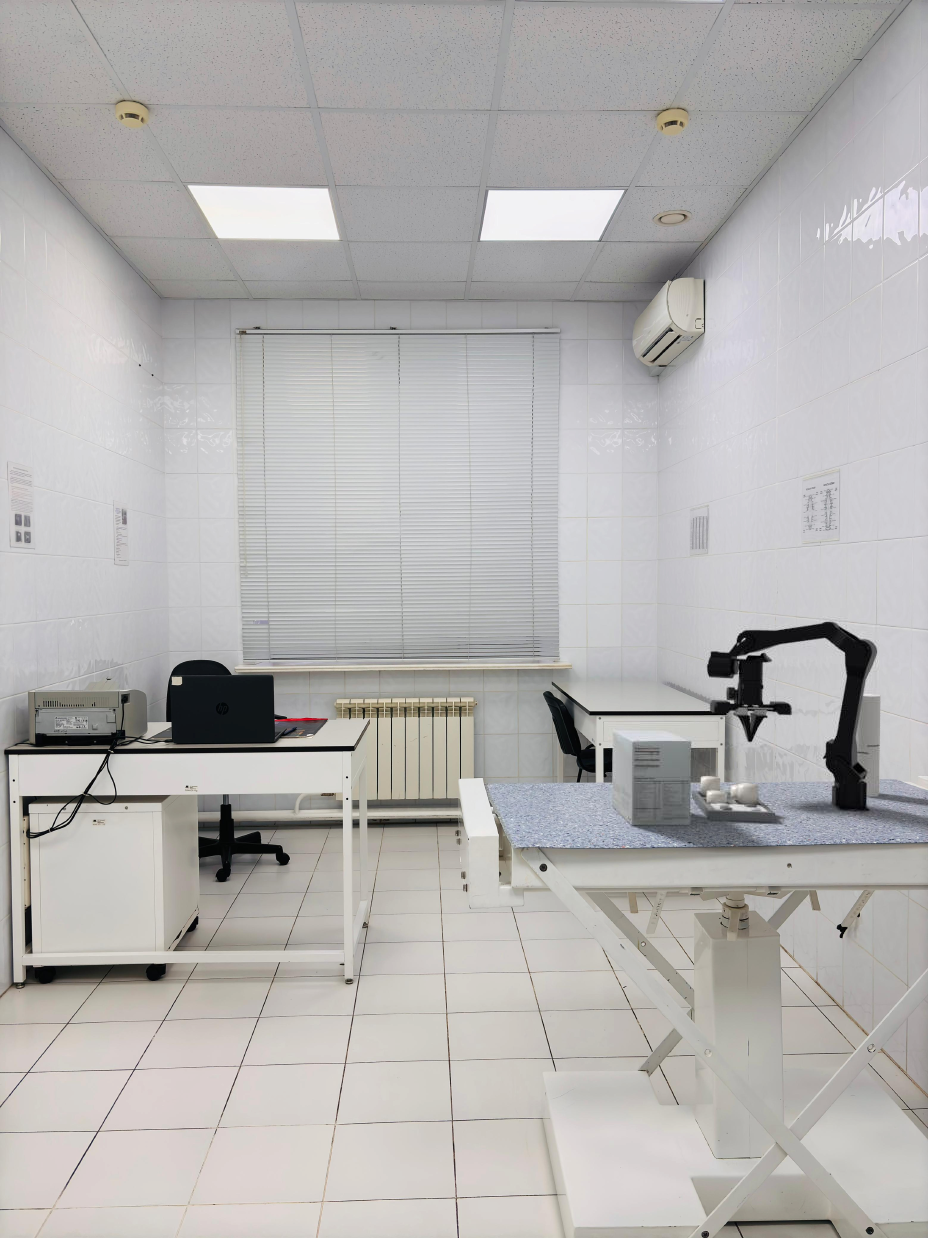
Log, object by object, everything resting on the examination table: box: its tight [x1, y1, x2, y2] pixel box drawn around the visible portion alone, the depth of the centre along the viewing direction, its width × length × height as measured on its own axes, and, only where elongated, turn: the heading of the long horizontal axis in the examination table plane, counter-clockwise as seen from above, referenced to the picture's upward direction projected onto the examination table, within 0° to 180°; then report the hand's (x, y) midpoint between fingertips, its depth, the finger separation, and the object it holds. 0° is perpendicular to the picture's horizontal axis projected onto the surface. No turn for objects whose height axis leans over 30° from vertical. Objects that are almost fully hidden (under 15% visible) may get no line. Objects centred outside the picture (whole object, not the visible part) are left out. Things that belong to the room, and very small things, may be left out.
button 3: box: [730, 784, 738, 798], centre depth 192 cm, size 4×4×4 cm
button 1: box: [700, 775, 721, 796], centre depth 192 cm, size 4×4×4 cm
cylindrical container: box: [856, 693, 881, 798], centre depth 204 cm, size 7×7×25 cm
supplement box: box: [611, 729, 692, 826], centre depth 180 cm, size 17×13×18 cm
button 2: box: [707, 790, 727, 804], centre depth 185 cm, size 4×4×4 cm
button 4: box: [737, 782, 759, 805], centre depth 185 cm, size 4×4×4 cm
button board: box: [691, 790, 776, 823], centre depth 186 cm, size 14×20×2 cm
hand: (749, 741), depth 203 cm, fingers closed
